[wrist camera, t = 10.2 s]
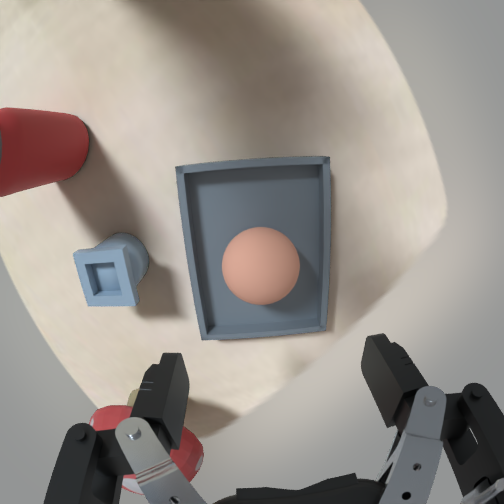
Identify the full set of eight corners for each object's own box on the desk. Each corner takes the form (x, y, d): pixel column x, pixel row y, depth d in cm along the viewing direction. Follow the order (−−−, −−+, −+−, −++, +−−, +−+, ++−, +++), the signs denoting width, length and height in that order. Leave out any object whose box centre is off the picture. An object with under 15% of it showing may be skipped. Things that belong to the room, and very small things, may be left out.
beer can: (103, 143, 22) (16, 147, 11) (65, 192, 23) (-20, 224, 12) (69, 101, 20) (-16, 88, 9) (34, 150, 21) (-50, 163, 10)
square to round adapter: (97, 235, 25) (71, 252, 20) (143, 230, 25) (123, 247, 20) (108, 283, 26) (87, 307, 22) (153, 281, 26) (137, 306, 22)
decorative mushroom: (231, 400, 32) (228, 503, 18) (168, 431, 35) (152, 513, 21) (148, 338, 29) (103, 448, 15) (96, 381, 32) (57, 464, 17)
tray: (182, 165, 23) (175, 166, 21) (321, 156, 23) (329, 156, 21) (204, 325, 28) (201, 340, 26) (319, 316, 28) (325, 330, 26)
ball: (221, 221, 24) (213, 244, 18) (292, 216, 24) (307, 237, 18) (227, 285, 26) (224, 322, 20) (293, 280, 26) (306, 316, 20)
